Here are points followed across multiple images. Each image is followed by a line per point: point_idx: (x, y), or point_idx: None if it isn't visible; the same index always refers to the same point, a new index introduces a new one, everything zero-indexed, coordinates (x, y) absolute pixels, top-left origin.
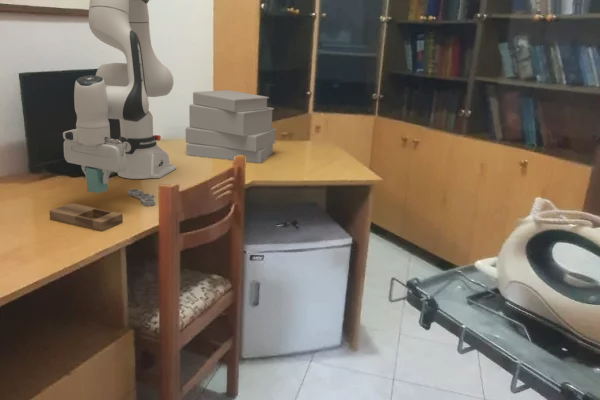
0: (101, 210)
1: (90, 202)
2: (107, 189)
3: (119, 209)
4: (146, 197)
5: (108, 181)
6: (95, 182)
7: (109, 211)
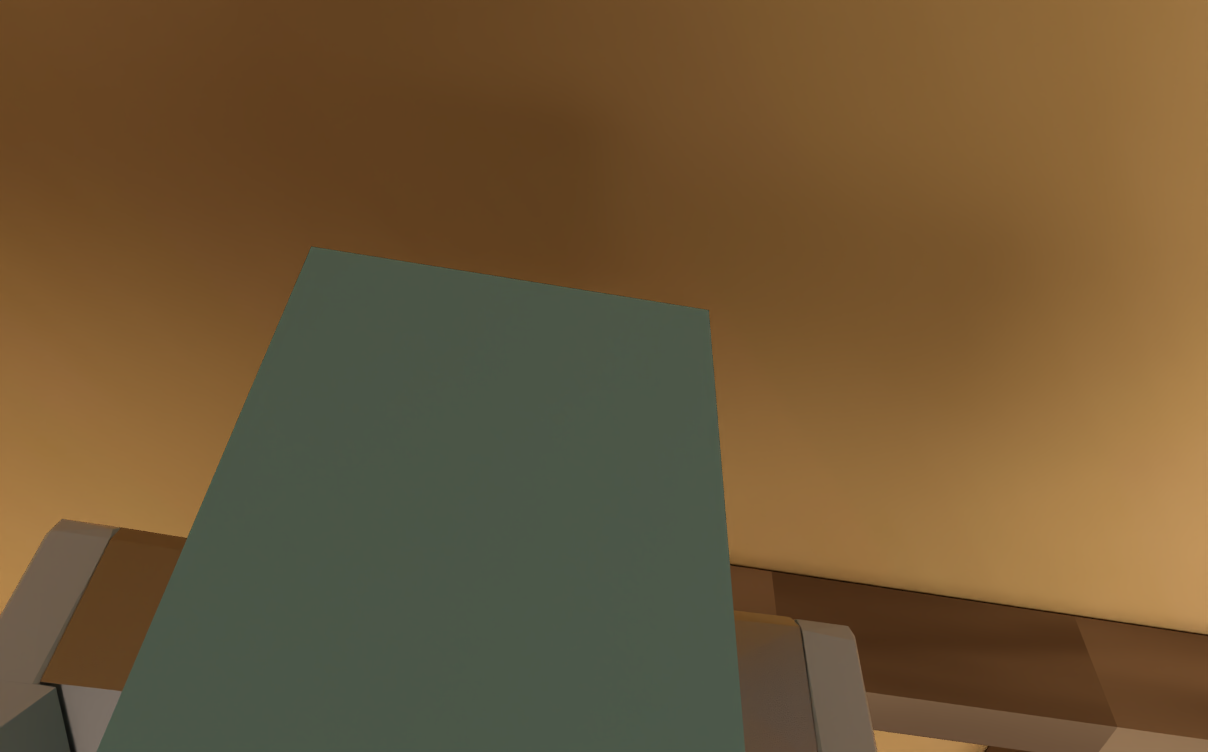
0: (909, 727)
1: (187, 14)
2: (705, 333)
3: (985, 200)
4: None
5: (854, 645)
6: None
7: (1048, 728)
